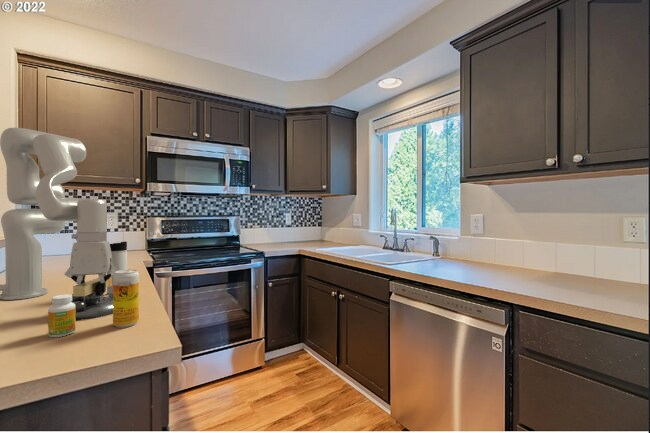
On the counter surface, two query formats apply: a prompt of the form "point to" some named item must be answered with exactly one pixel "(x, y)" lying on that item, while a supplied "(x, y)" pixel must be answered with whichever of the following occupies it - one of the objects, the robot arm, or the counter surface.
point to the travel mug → (118, 260)
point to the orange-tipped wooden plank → (90, 290)
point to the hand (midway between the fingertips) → (92, 294)
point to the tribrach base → (92, 307)
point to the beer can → (125, 298)
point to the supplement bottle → (61, 316)
